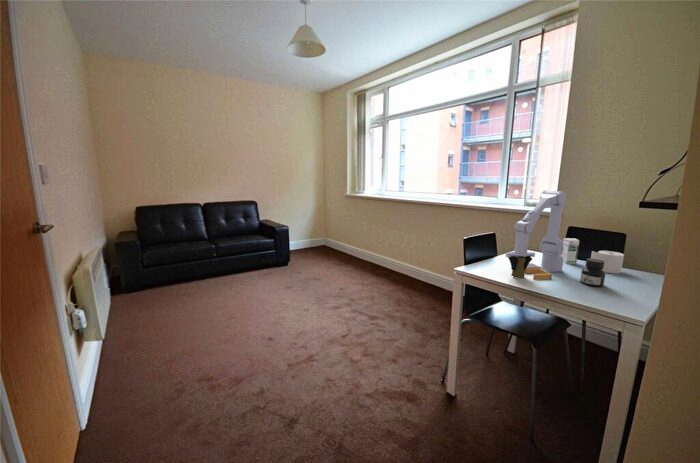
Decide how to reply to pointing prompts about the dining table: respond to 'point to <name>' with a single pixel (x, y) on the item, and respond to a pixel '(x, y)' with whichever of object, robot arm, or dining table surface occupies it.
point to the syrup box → (570, 250)
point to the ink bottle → (593, 273)
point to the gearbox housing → (536, 269)
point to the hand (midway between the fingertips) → (518, 270)
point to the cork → (519, 268)
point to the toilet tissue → (609, 260)
